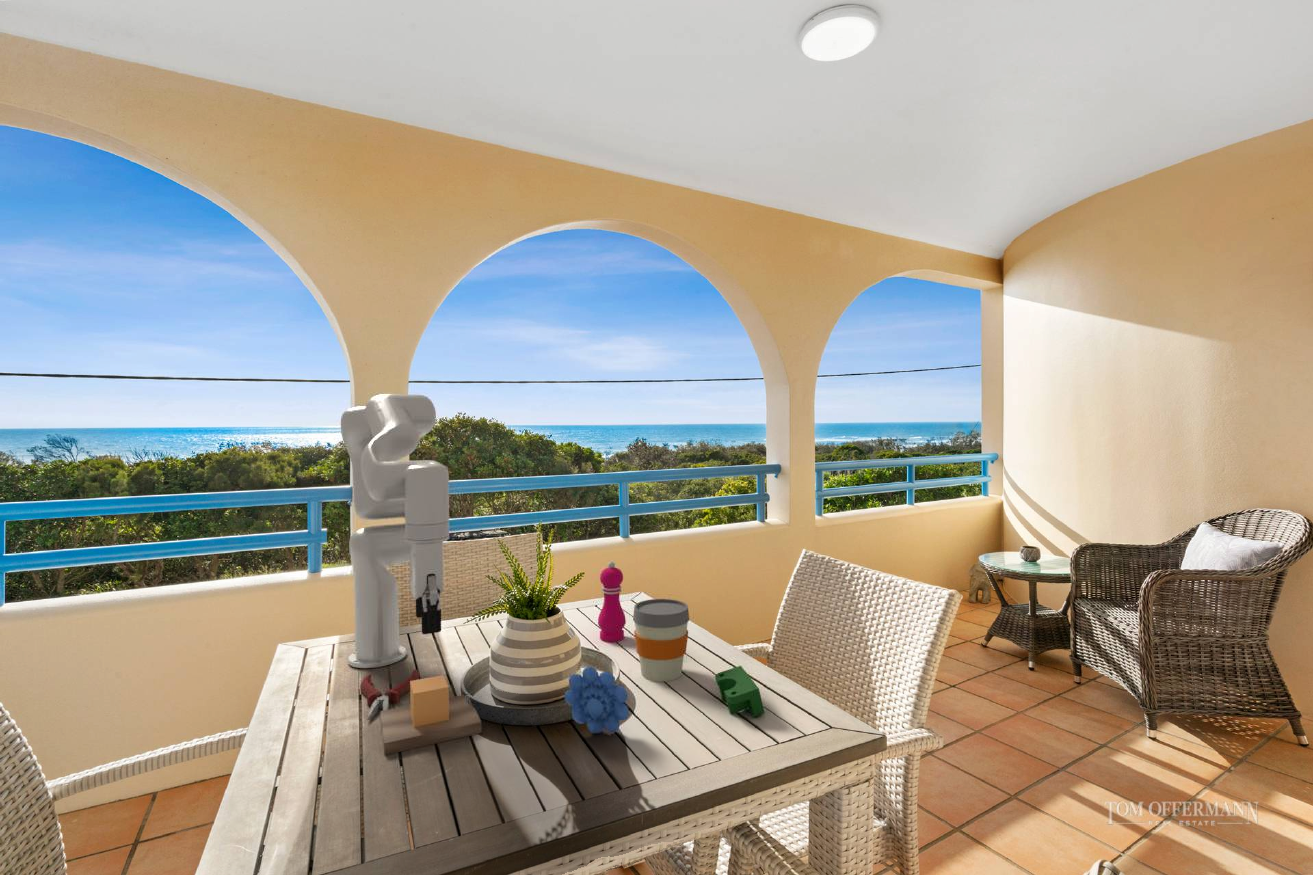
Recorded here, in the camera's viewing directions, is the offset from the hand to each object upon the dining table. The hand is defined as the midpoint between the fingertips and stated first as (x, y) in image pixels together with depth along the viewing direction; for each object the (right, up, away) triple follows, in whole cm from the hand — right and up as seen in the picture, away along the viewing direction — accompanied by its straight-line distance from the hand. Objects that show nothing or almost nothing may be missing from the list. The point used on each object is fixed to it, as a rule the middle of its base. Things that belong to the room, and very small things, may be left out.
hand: (428, 624), depth 112 cm
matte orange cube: (0, -17, 0) cm, 17 cm away
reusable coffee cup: (+43, -19, +24) cm, 53 cm away
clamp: (+58, -19, +8) cm, 62 cm away
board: (0, -19, 0) cm, 19 cm away
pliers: (-15, -20, +13) cm, 28 cm away
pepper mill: (+30, -18, +47) cm, 59 cm away
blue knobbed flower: (+31, -19, -3) cm, 37 cm away
